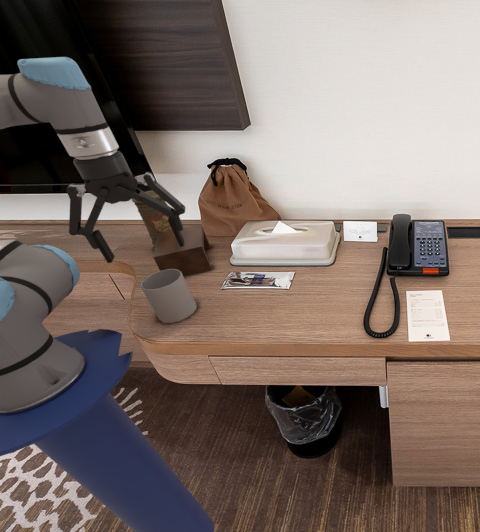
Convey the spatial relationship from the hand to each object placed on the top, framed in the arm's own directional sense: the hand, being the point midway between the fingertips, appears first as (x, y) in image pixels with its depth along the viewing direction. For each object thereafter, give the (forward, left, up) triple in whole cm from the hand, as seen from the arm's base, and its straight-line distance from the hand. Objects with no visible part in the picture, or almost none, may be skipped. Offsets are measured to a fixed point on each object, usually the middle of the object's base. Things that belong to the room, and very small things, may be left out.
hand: (148, 251), depth 76 cm
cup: (0, 0, -18) cm, 18 cm away
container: (-4, +40, -18) cm, 44 cm away
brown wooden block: (+2, +25, -18) cm, 31 cm away
